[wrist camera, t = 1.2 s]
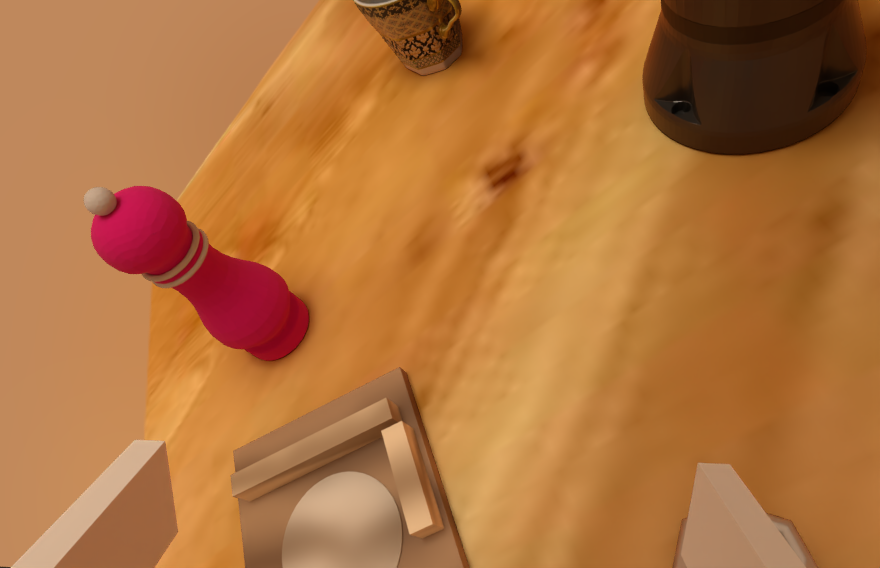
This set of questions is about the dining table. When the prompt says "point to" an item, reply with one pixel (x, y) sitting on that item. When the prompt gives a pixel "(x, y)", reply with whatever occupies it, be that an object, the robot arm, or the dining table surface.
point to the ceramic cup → (418, 30)
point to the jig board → (347, 488)
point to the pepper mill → (196, 270)
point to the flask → (781, 524)
